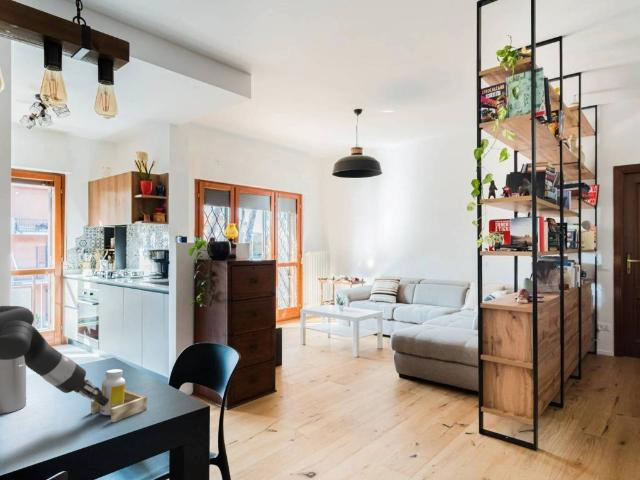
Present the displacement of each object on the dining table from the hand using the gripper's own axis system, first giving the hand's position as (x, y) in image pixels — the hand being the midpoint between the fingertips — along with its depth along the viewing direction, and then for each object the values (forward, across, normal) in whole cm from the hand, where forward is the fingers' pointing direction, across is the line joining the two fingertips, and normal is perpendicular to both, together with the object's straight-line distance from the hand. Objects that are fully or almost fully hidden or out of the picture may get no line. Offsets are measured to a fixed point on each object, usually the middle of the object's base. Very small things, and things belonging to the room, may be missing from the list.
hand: (105, 402), depth 124 cm
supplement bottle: (+5, -2, -1) cm, 6 cm away
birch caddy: (+6, -1, 0) cm, 7 cm away
